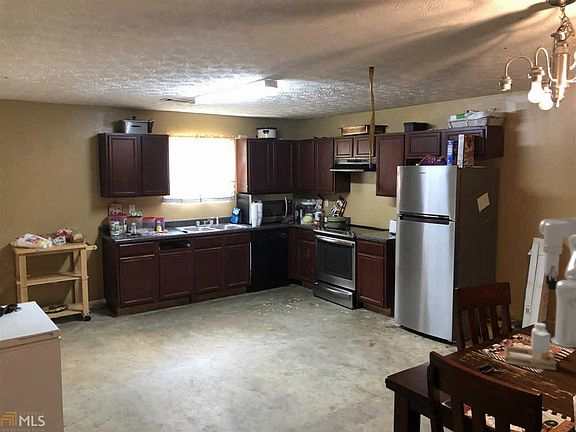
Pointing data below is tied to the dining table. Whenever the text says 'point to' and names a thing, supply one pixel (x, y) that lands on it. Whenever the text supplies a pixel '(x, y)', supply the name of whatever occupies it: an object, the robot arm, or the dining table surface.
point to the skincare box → (541, 345)
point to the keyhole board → (527, 358)
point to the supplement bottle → (537, 330)
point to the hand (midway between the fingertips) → (550, 286)
